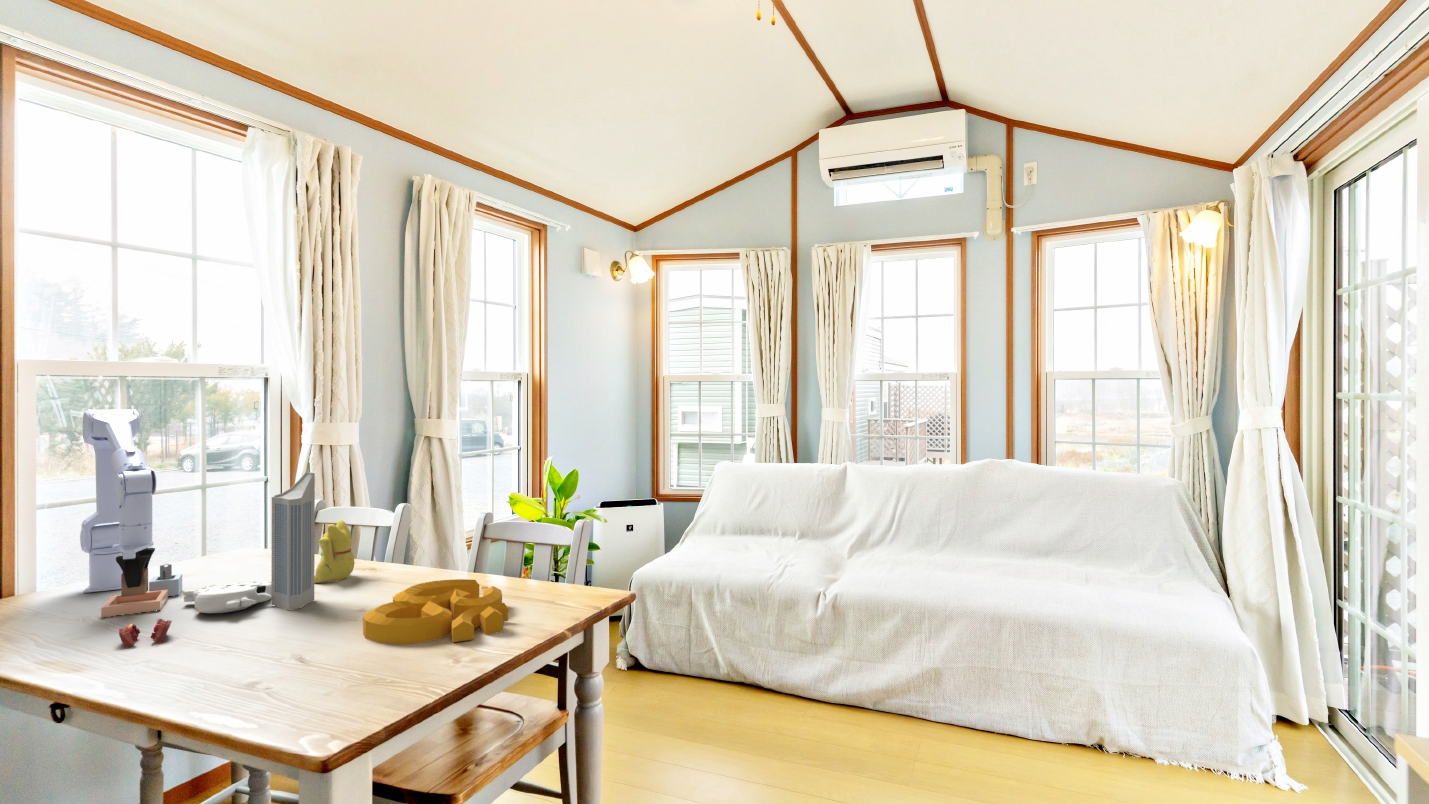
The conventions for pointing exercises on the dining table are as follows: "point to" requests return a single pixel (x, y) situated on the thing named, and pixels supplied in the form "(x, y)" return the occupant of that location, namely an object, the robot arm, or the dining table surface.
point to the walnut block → (135, 590)
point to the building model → (293, 544)
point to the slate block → (167, 584)
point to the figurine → (335, 554)
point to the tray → (134, 603)
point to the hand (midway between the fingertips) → (136, 584)
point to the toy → (228, 596)
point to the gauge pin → (166, 572)
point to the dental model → (131, 632)
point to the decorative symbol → (436, 613)
